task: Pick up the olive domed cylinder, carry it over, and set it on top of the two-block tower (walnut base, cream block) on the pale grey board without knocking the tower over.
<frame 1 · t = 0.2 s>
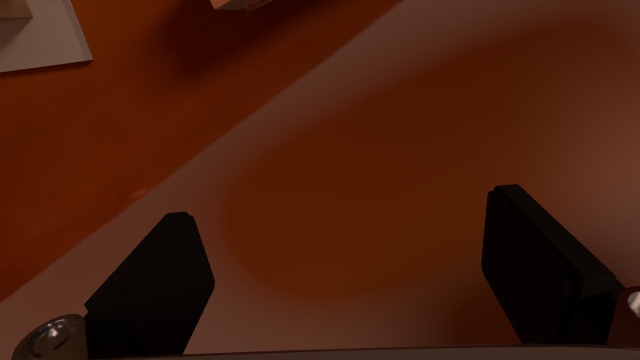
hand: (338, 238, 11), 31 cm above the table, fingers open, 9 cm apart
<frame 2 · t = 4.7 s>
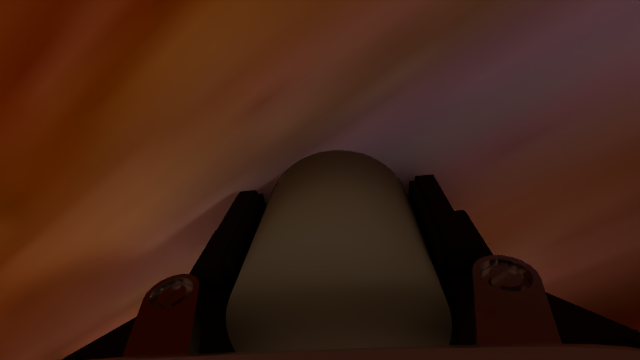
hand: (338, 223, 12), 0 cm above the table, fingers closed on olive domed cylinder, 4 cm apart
olive domed cylinder: (338, 215, 12), on the table, touching gripper
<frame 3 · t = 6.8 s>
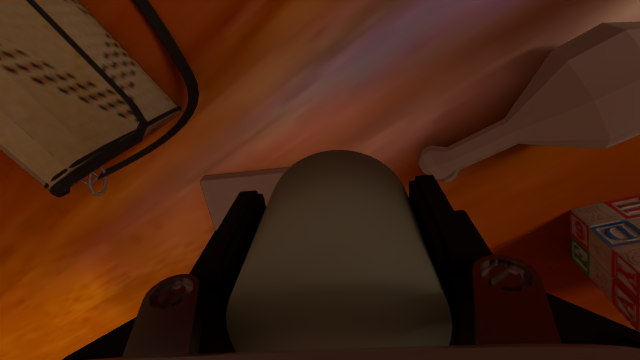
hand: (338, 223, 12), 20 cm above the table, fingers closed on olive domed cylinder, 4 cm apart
grey board: (298, 244, 36), on the table
olive domed cylinder: (338, 215, 12), point 19 cm above the table, touching gripper
chicken leg: (514, 110, 29), on the table
when the fingers open (13 cm above the table, at t = 9.1 s): olive domed cylinder stays where it is, resting on middle block.
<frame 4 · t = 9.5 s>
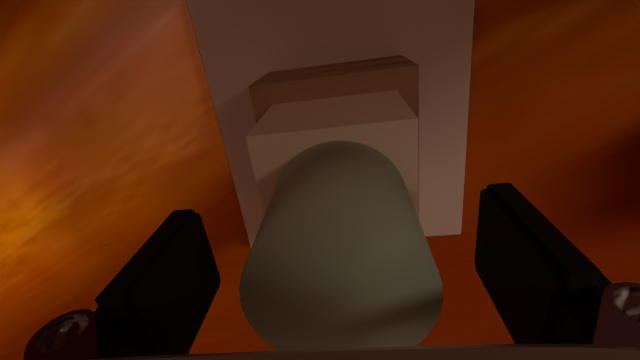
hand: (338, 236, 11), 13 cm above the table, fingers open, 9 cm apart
middle block: (339, 155, 17), point 6 cm above the table, touching base block, olive domed cylinder
grey board: (340, 122, 23), on the table
olive domed cylinder: (340, 202, 13), point 11 cm above the table, touching middle block
base block: (340, 127, 22), point 1 cm above the table, touching grey board, middle block
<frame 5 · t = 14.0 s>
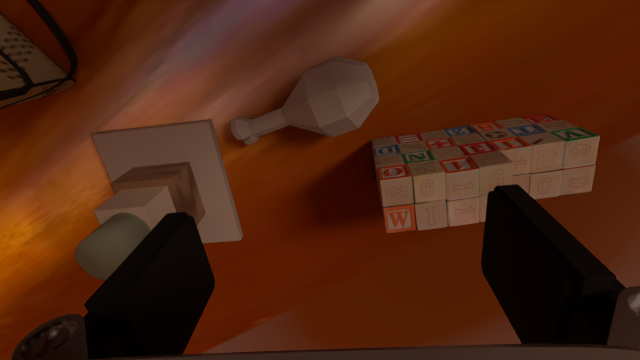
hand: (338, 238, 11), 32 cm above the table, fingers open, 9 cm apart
middle block: (152, 209, 42), point 6 cm above the table, touching base block, olive domed cylinder
grey board: (174, 187, 48), on the table
stack of blocks: (455, 148, 43), on the table
olive domed cylinder: (129, 231, 38), point 11 cm above the table, touching middle block
chicken leg: (302, 104, 42), on the table
base block: (170, 190, 47), point 1 cm above the table, touching grey board, middle block
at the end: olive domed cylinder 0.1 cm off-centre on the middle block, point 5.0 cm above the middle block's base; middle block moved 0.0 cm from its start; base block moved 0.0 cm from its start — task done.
